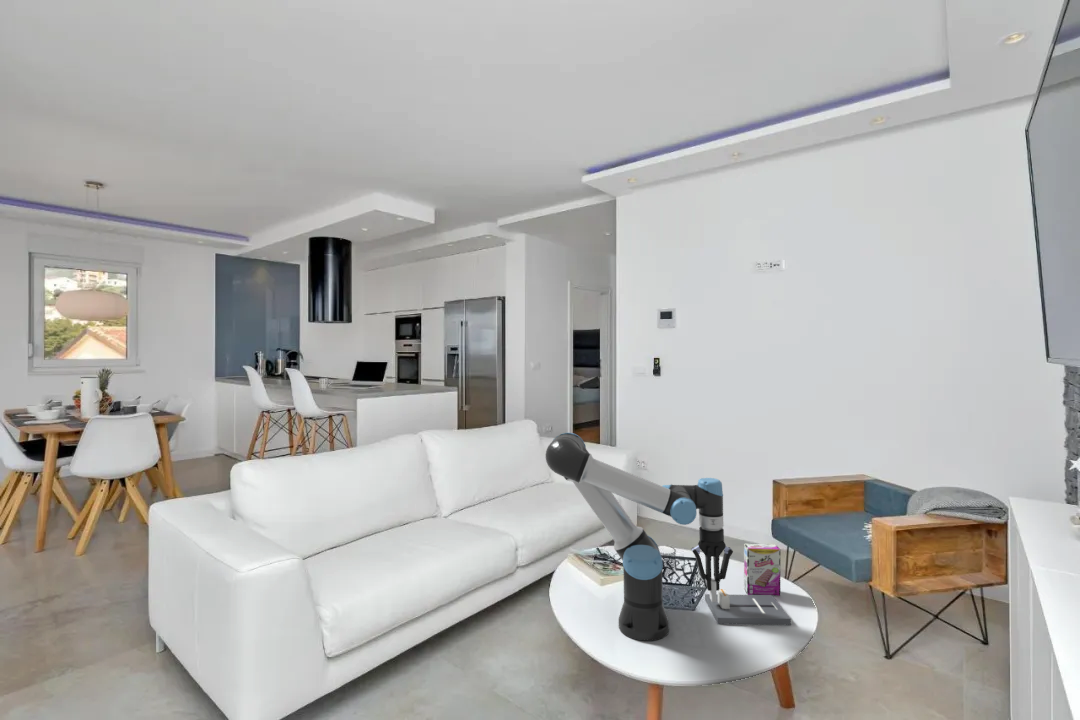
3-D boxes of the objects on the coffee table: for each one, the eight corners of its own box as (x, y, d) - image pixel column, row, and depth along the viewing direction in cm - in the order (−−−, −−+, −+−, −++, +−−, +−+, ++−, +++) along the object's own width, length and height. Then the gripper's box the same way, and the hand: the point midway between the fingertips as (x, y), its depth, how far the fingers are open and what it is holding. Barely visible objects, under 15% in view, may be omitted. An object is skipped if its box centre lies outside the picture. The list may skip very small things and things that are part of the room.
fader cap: (721, 608, 169) (721, 595, 169) (717, 601, 174) (717, 588, 174) (729, 608, 169) (729, 595, 168) (725, 601, 174) (725, 588, 173)
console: (717, 624, 163) (717, 617, 163) (705, 600, 179) (704, 593, 179) (791, 625, 162) (791, 618, 162) (771, 600, 178) (771, 594, 178)
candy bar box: (747, 595, 182) (747, 548, 182) (743, 589, 187) (742, 543, 187) (781, 596, 181) (781, 548, 181) (776, 590, 186) (775, 543, 186)
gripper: (693, 531, 168) (695, 605, 168) (735, 530, 167) (737, 605, 167) (688, 523, 175) (690, 594, 175) (728, 523, 174) (730, 594, 175)
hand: (713, 599), depth 171 cm, fingers closed
